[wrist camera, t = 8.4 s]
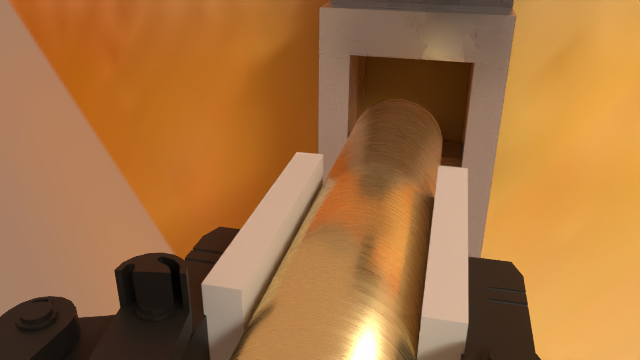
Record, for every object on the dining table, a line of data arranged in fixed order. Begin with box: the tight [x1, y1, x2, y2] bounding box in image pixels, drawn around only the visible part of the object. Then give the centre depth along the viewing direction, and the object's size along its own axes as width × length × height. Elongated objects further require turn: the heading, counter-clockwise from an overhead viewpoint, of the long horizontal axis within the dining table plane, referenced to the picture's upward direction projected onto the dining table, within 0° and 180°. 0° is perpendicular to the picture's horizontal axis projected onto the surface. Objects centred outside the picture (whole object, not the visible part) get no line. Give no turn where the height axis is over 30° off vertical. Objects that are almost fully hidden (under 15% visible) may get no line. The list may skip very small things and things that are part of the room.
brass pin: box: [229, 99, 442, 360], centre depth 14 cm, size 3×3×14 cm
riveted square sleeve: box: [318, 0, 516, 258], centre depth 24 cm, size 24×7×5 cm, turn 0°
